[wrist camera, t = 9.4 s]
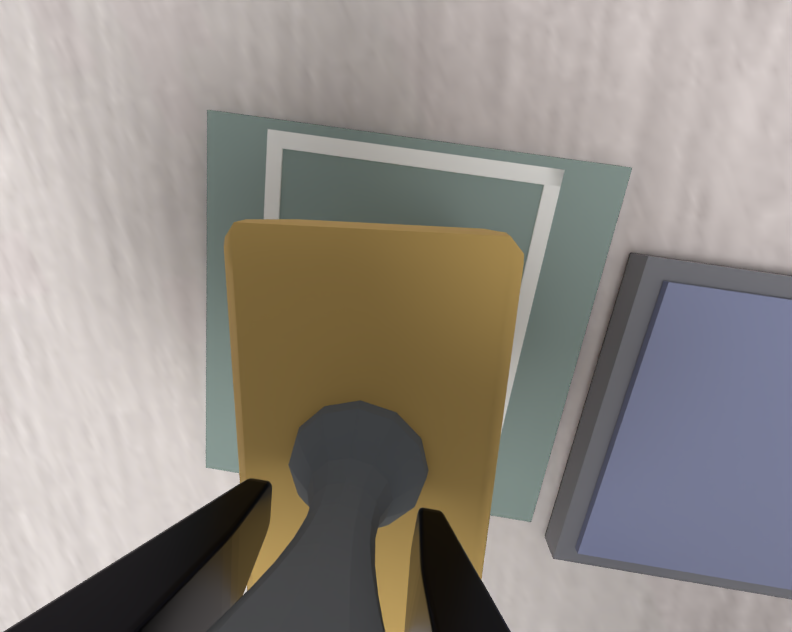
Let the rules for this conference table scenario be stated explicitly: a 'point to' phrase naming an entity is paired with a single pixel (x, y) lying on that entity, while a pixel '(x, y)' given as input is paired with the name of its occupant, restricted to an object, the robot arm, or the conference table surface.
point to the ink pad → (687, 432)
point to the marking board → (427, 206)
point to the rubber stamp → (364, 406)
